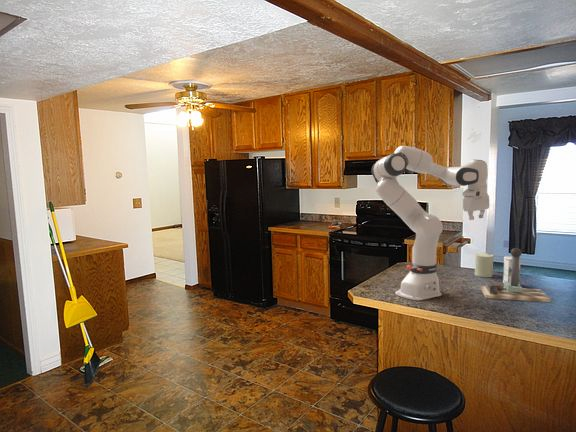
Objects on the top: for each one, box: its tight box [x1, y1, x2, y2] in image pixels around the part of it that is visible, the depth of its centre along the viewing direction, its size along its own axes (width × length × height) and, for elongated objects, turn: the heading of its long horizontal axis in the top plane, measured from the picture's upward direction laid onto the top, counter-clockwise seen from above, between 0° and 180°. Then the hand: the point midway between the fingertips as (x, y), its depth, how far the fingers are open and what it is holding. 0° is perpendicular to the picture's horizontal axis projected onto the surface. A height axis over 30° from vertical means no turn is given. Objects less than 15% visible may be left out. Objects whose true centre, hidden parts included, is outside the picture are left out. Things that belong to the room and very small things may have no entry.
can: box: [474, 252, 494, 278], centre depth 220 cm, size 9×9×12 cm
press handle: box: [503, 247, 524, 292], centre depth 184 cm, size 6×8×20 cm
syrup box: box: [502, 255, 521, 285], centre depth 200 cm, size 6×6×14 cm
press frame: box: [480, 279, 551, 303], centre depth 185 cm, size 26×14×6 cm, turn 73°
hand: (476, 219), depth 200 cm, fingers open, 8 cm apart
